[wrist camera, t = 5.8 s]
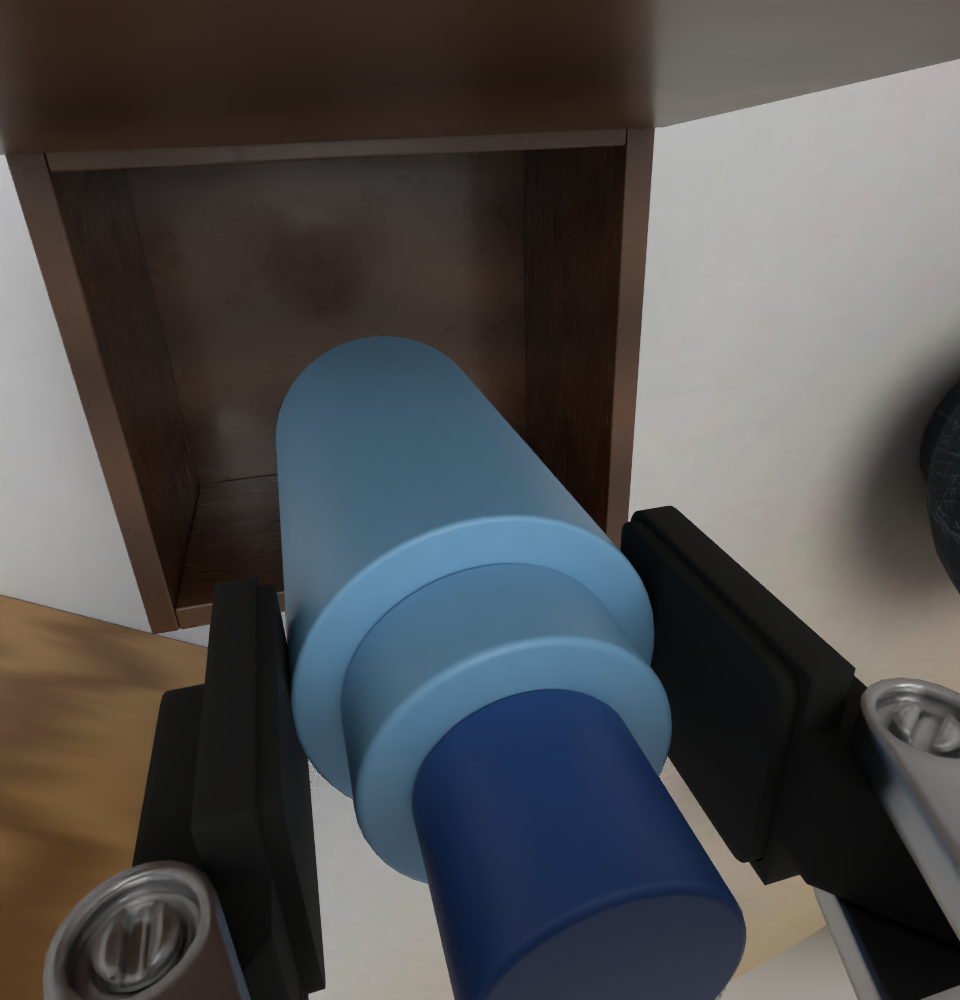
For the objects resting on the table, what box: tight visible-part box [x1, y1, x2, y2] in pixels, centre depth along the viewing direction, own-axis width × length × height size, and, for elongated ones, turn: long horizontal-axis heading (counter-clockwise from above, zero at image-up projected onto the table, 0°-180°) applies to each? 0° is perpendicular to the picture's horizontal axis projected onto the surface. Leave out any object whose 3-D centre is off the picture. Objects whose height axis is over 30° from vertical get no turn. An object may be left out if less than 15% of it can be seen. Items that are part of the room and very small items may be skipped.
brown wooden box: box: [5, 127, 655, 634], centre depth 24 cm, size 14×16×10 cm
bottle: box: [276, 336, 746, 1000], centre depth 12 cm, size 5×5×13 cm
